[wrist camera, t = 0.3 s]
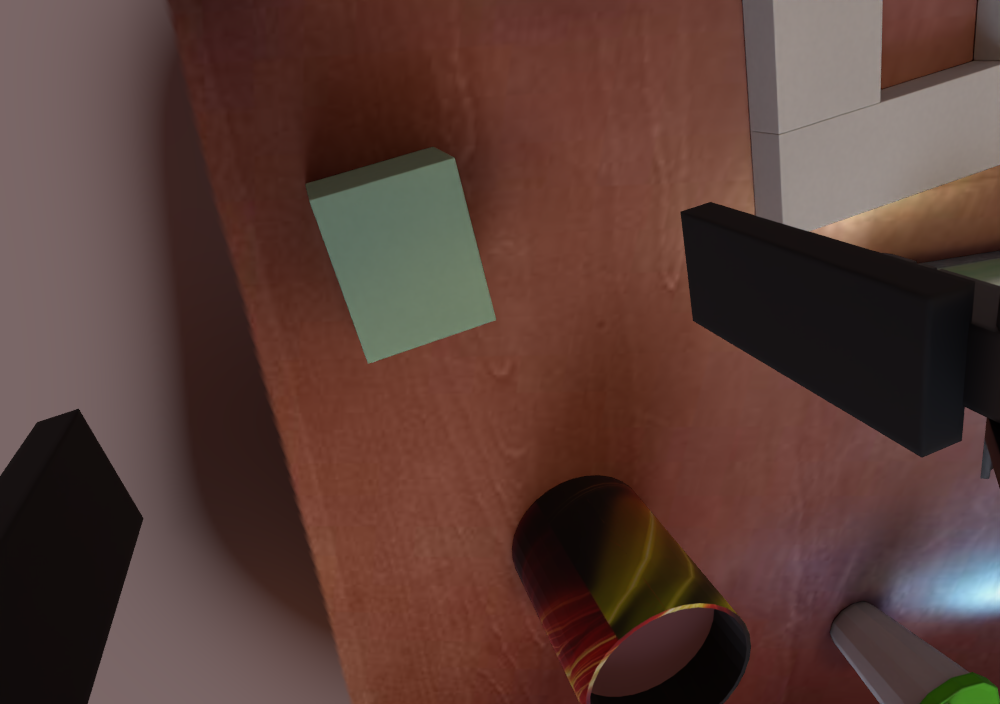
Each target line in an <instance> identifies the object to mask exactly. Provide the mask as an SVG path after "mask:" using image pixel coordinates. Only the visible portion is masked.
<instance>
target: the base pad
mask: <svg viewBox="0 0 1000 704" xmlns="http://www.w3.org/2000/svg"><path fill="white" fill-rule="evenodd" d="M742 1H743V17H744V33H745V49H746V65H747V81H748V97H749V114H750V129H751V130H752V131H751V145H752V161H753V177H754V193H755V210H756V216H758V217H762V218H765V219H769V220H772V221H775V222H779V223H782V224H785V225H789V226H792V227H795V228H799V229H802V230H805V231H812V230H814V229H817V228H820V227H823V226H826V225H829V224H832V223H835V222H837V221H840V220H843V219H846V218H849V217H852V216H855V215H858V214H860V213H863V212H866V211H869V210H872V209H875V208H878V207H880V206H883V205H886V204H889V203H892V202H895V201H898V200H901V199H903V198H906V197H909V196H912V195H915V194H918V193H921V192H924V191H926V190H929V189H932V188H935V187H938V186H941V185H944V184H947V183H949V182H952V181H955V180H958V179H961V178H964V177H967V176H969V175H972V174H975V173H978V172H981V171H984V170H987V169H990V168H992V167H995V166H998V165H1000V0H978V8H977V21H976V34H975V47H974V60H975V61H972V62H969V63H965V64H962V65H959V66H956V67H953V68H949V69H946V70H943V71H940V72H937V73H933V74H930V75H927V76H924V77H921V78H918V79H914V80H911V81H908V82H905V83H902V84H898V85H895V86H892V87H889V88H886V89H882V90H881V49H882V0H742Z"/></svg>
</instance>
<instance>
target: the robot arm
mask: <svg viewBox="0 0 1000 704" xmlns="http://www.w3.org/2000/svg"><path fill="white" fill-rule="evenodd" d="M681 219H682V228H683V237H684V246H685V254H686V263H687V272H688V281H689V289H690V298H691V307H692V316H693V321H694V322H696V323H698V324H699V325H701V326H703V327H704V328H706V329H708V330H709V331H711V332H713V333H714V334H716V335H718V336H719V337H721V338H723V339H724V340H726V341H728V342H730V343H731V344H733V345H735V346H736V347H738V348H740V349H741V350H743V351H745V352H746V353H748V354H750V355H751V356H753V357H755V358H756V359H758V360H760V361H761V362H763V363H765V364H766V365H768V366H770V367H771V368H773V369H775V370H776V371H778V372H780V373H781V374H783V375H785V376H786V377H788V378H790V379H791V380H793V381H795V382H796V383H798V384H800V385H801V386H803V387H805V388H806V389H808V390H810V391H812V392H813V393H815V394H817V395H818V396H820V397H822V398H823V399H825V400H827V401H828V402H830V403H832V404H833V405H835V406H837V407H838V408H840V409H842V410H843V411H845V412H847V413H848V414H850V415H852V416H853V417H855V418H857V419H858V420H860V421H862V422H863V423H865V424H867V425H868V426H870V427H872V428H873V429H875V430H877V431H878V432H880V433H882V434H883V435H885V436H887V437H889V438H890V439H892V440H894V441H895V442H897V443H899V444H900V445H902V446H904V447H905V448H907V449H909V450H910V451H912V452H914V453H915V454H917V455H919V456H920V457H924V456H927V455H929V454H931V453H934V452H936V451H938V450H941V449H943V448H946V447H948V446H950V445H953V444H955V443H957V442H960V441H962V431H963V420H964V408H965V407H967V408H969V409H971V410H973V411H975V412H977V413H979V414H981V415H983V416H985V417H987V421H986V431H985V440H984V450H983V460H982V469H981V478H984V479H989V477H990V471H991V470H992V469H993V468H994V471H995V474H996V478H997V481H998V484H999V487H1000V286H998V285H995V284H991V283H988V282H985V281H981V280H978V279H975V278H971V277H968V276H964V275H961V274H958V273H954V272H951V271H948V270H944V269H940V270H937V267H934V266H931V265H927V264H924V263H919V264H917V262H916V261H914V260H910V259H907V258H904V257H900V256H897V255H893V254H887V253H879V252H875V251H872V250H869V249H865V248H862V247H859V246H855V245H852V244H849V243H845V242H842V241H839V240H835V239H832V238H829V237H825V236H822V235H819V234H815V233H812V232H809V231H805V230H802V229H799V228H795V227H792V226H789V225H785V224H782V223H779V222H775V221H772V220H769V219H765V218H762V217H758V216H755V215H752V214H748V213H745V212H742V211H738V210H735V209H732V208H728V207H725V206H722V205H718V204H715V203H712V202H709V203H706V204H703V205H700V206H697V207H694V208H691V209H688V210H685V211H682V212H681ZM142 521H143V517H142V515H141V514H140V512H139V510H138V508H137V507H136V505H135V503H134V502H133V500H132V498H131V497H130V495H129V493H128V491H127V490H126V488H125V486H124V485H123V483H122V481H121V480H120V478H119V476H118V475H117V473H116V471H115V470H114V468H113V466H112V464H111V463H110V461H109V459H108V458H107V456H106V454H105V453H104V451H103V449H102V447H101V446H100V444H99V443H98V441H97V439H96V437H95V436H94V434H93V432H92V431H91V429H90V427H89V425H88V424H87V422H86V420H85V419H84V417H83V415H82V414H81V412H80V410H79V409H76V410H74V411H71V412H67V413H64V414H61V415H58V416H55V417H52V418H49V419H46V420H43V421H40V422H37V423H36V425H35V426H34V428H33V429H32V431H31V432H30V433H29V435H28V436H27V438H26V439H25V441H24V442H23V444H22V445H21V447H20V448H19V450H18V451H17V452H16V454H15V455H14V457H13V458H12V460H11V461H10V463H9V464H8V466H7V467H6V468H5V470H4V471H3V473H2V474H1V476H0V704H88V700H89V697H90V694H91V691H92V687H93V684H94V681H95V677H96V674H97V670H98V667H99V664H100V661H101V658H102V654H103V651H104V647H105V644H106V641H107V638H108V634H109V631H110V628H111V624H112V621H113V618H114V614H115V611H116V608H117V604H118V601H119V598H120V594H121V591H122V588H123V584H124V581H125V578H126V574H127V571H128V567H129V564H130V561H131V558H132V554H133V551H134V548H135V545H136V541H137V538H138V535H139V531H140V528H141V525H142Z"/></svg>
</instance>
